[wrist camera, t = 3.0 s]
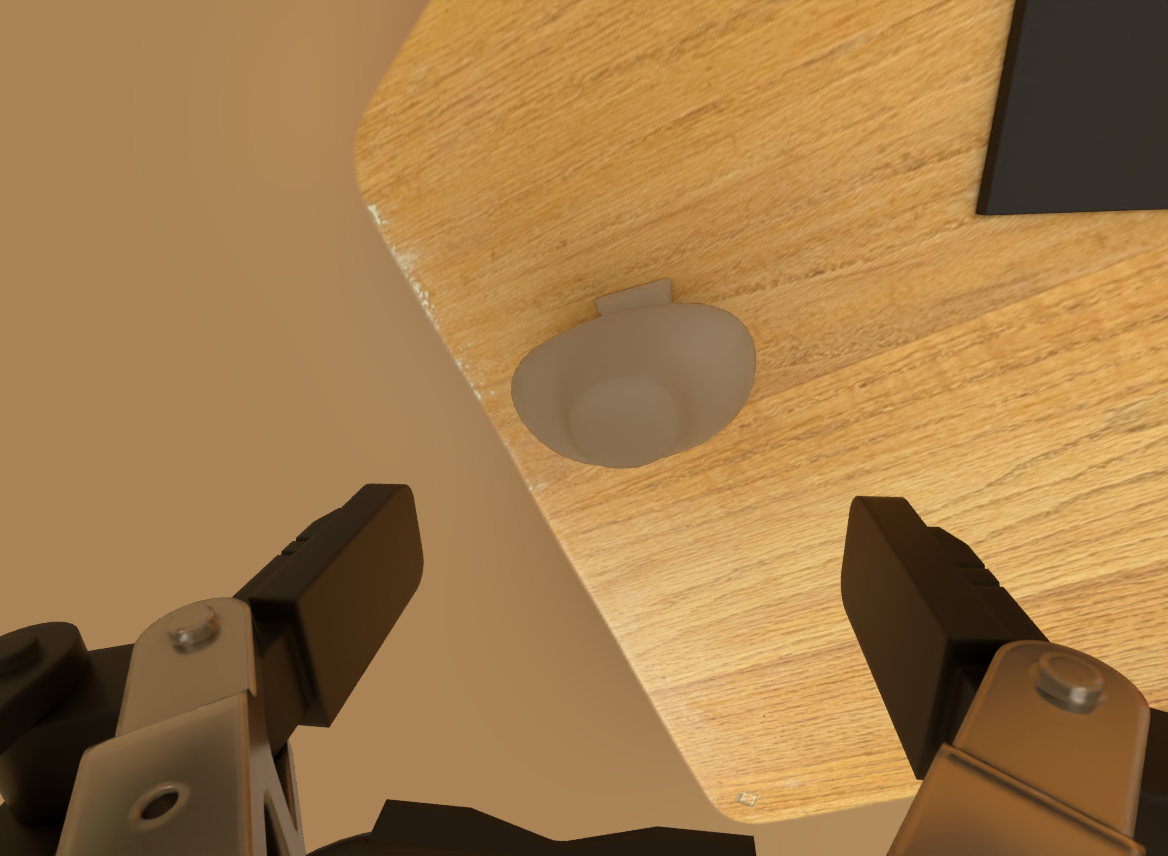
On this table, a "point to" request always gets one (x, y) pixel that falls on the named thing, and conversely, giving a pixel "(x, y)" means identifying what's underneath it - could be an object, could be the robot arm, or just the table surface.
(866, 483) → the table surface
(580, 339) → the grey rounded body
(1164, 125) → the mat
